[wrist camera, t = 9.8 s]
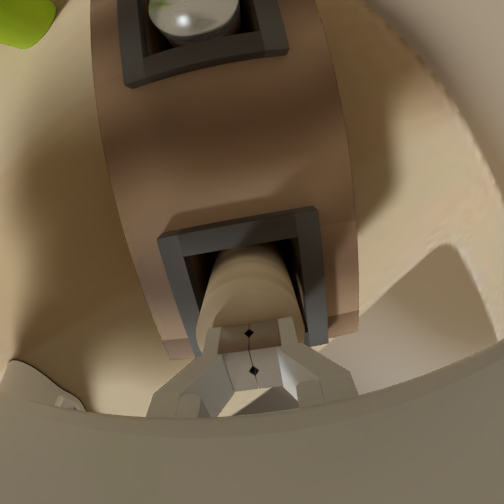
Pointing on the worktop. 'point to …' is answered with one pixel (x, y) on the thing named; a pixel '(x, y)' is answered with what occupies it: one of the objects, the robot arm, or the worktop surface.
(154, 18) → the steel peg
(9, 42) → the soap dispenser
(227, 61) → the walnut block
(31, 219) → the worktop surface
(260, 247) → the maple peg
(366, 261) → the worktop surface
